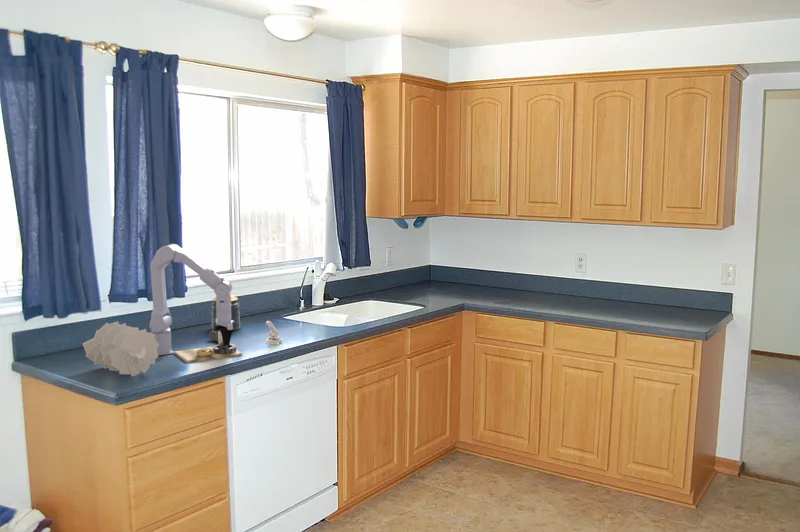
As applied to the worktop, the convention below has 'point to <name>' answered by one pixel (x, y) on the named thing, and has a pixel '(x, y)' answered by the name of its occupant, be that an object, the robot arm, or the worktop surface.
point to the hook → (273, 334)
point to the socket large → (224, 349)
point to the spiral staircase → (122, 348)
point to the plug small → (204, 353)
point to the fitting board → (192, 357)
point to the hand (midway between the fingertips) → (224, 344)
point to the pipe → (213, 335)
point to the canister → (234, 313)
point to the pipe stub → (221, 341)
